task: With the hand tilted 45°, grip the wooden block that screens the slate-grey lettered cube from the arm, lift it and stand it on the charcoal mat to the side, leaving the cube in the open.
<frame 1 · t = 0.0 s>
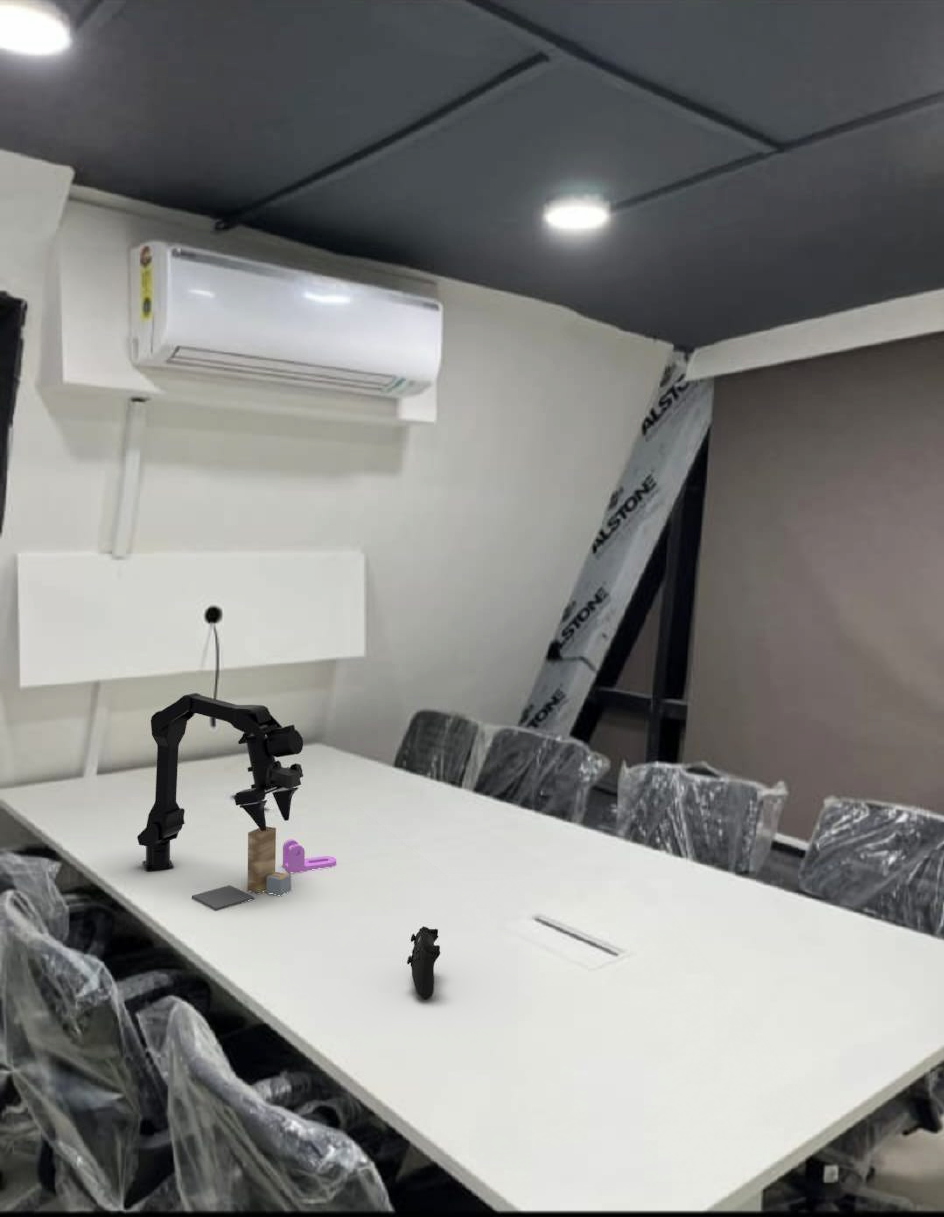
hand: (275, 825, 232), 15 cm above the table, tool pointing down, fingers open, 9 cm apart
wooden block: (261, 888, 234), on the table
charcoal mat: (222, 898, 227), on the table
gaming controller: (422, 985, 188), on the table
bracket: (311, 867, 250), on the table
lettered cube: (278, 892, 232), on the table
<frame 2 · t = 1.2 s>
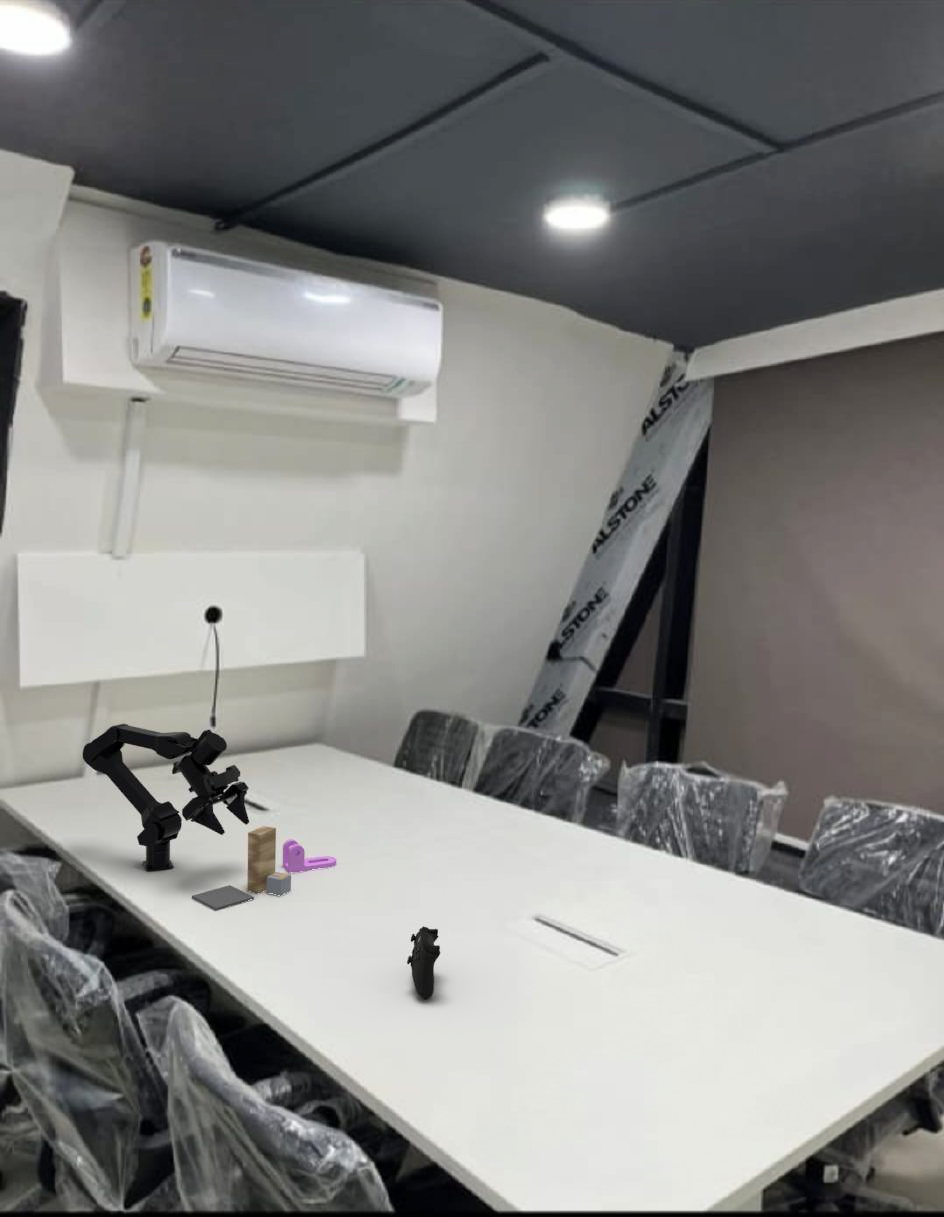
hand: (235, 828, 236), 13 cm above the table, tool tilted 45°, fingers open, 9 cm apart
nothing on the table moved.
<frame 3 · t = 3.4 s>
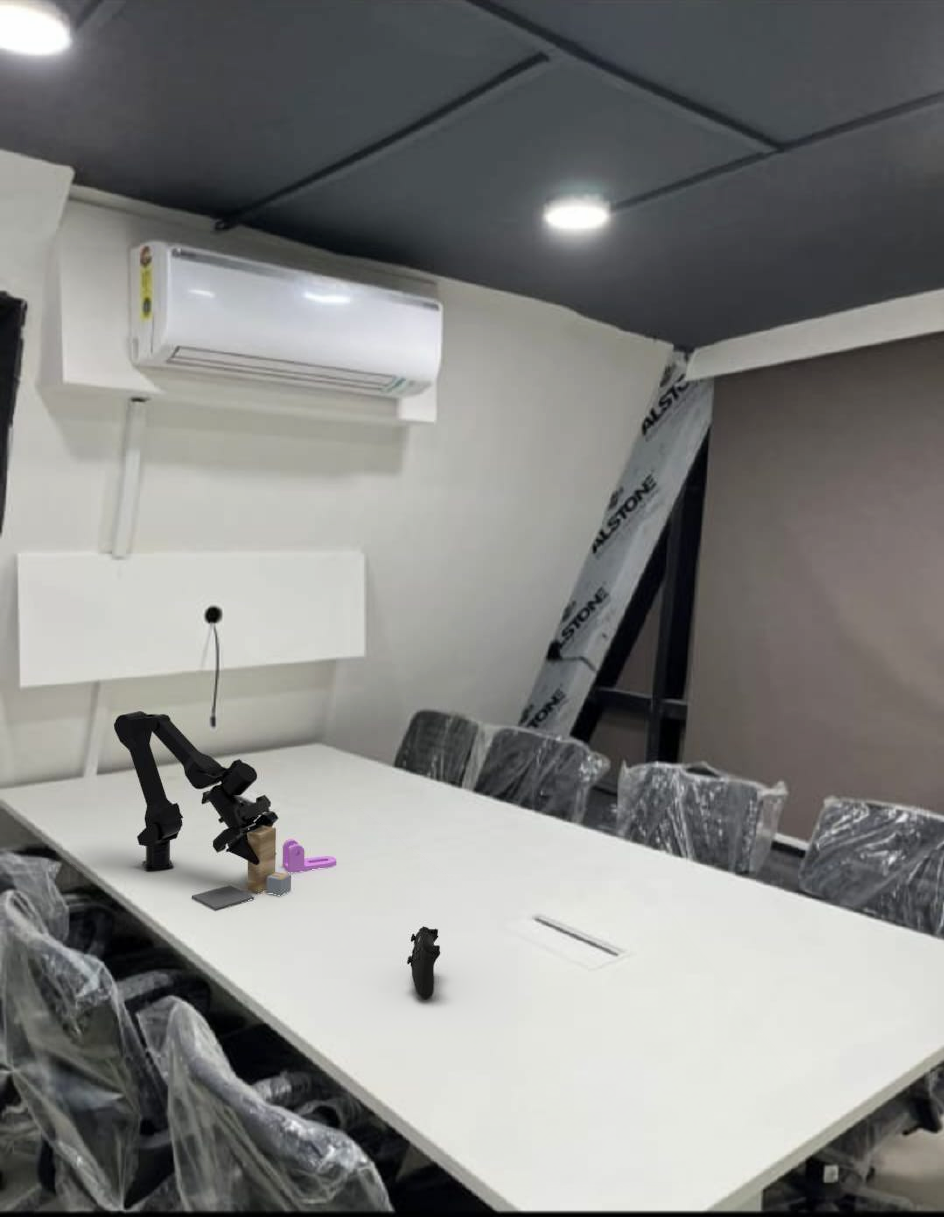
hand: (266, 859, 233), 7 cm above the table, tool tilted 45°, fingers closed on wooden block, 6 cm apart
wooden block: (261, 888, 234), on the table, touching gripper
everything else where it was.
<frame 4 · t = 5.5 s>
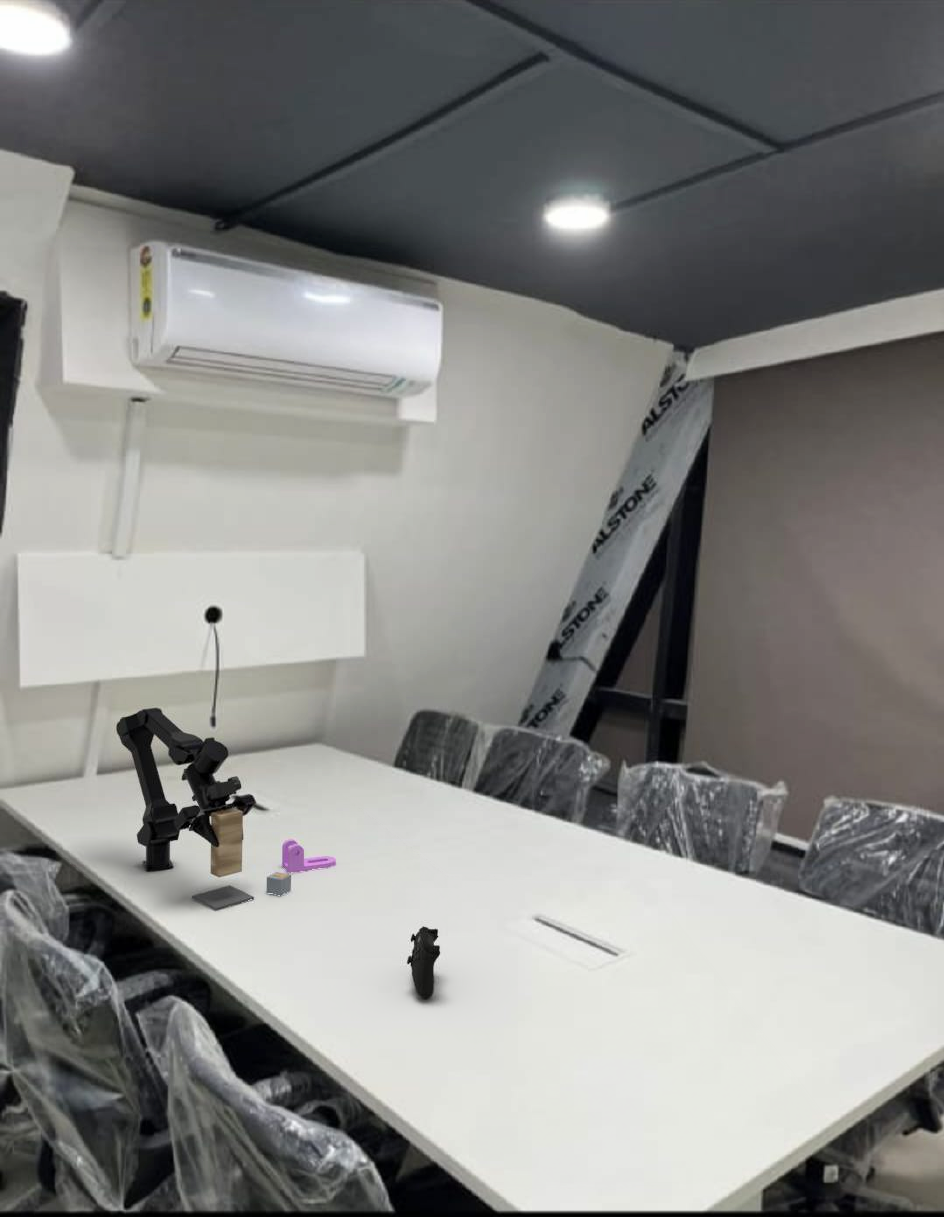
hand: (230, 843, 225), 13 cm above the table, tool tilted 45°, fingers closed on wooden block, 6 cm apart
wooden block: (226, 872, 226), point 6 cm above the table, touching gripper
everything else where it was.
when the fingers open (9 cm above the table, at t = 7.5 s): wooden block stays where it is, resting on charcoal mat.
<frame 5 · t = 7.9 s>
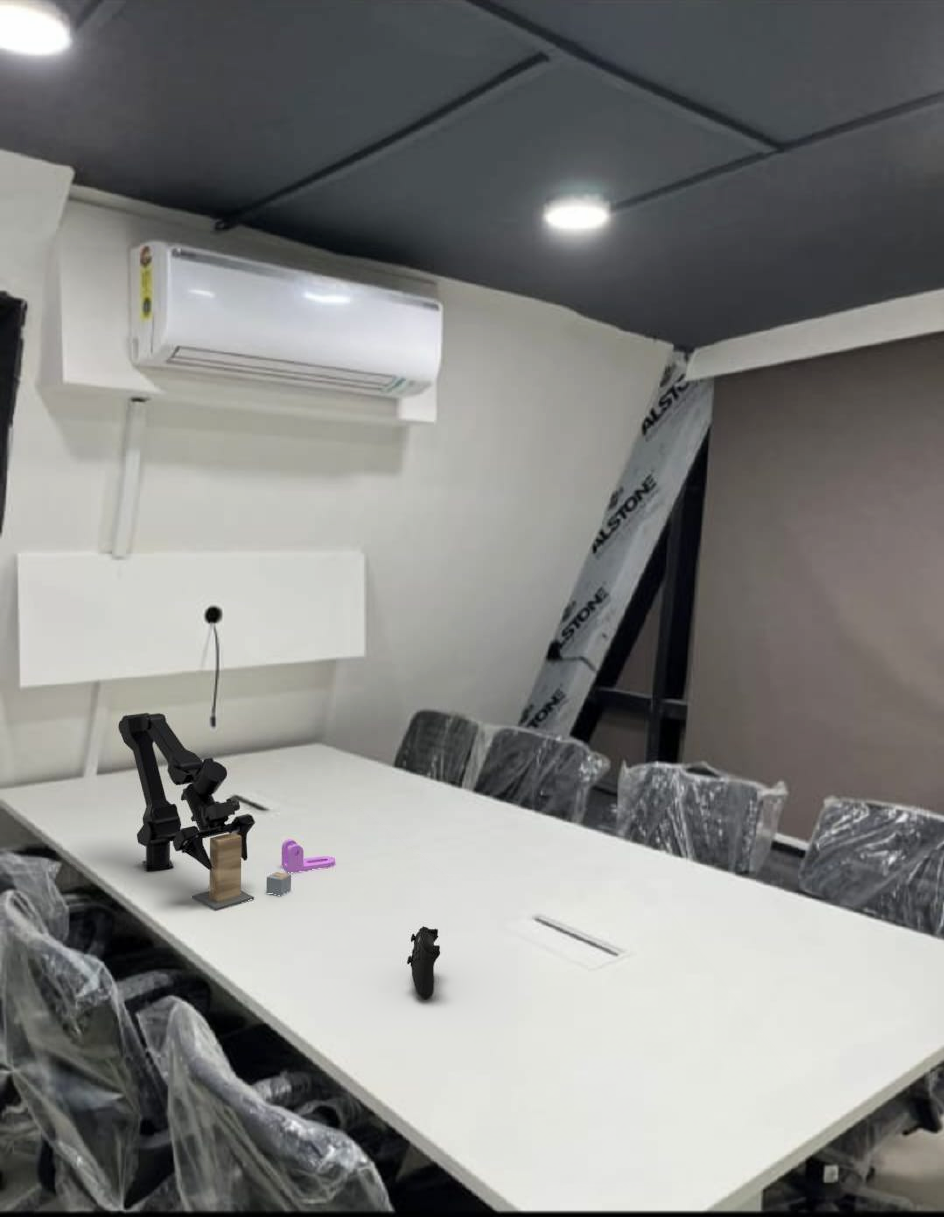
hand: (228, 864, 225), 9 cm above the table, tool tilted 45°, fingers open, 9 cm apart
wooden block: (225, 896, 226), point 1 cm above the table, touching charcoal mat
everything else where it was.
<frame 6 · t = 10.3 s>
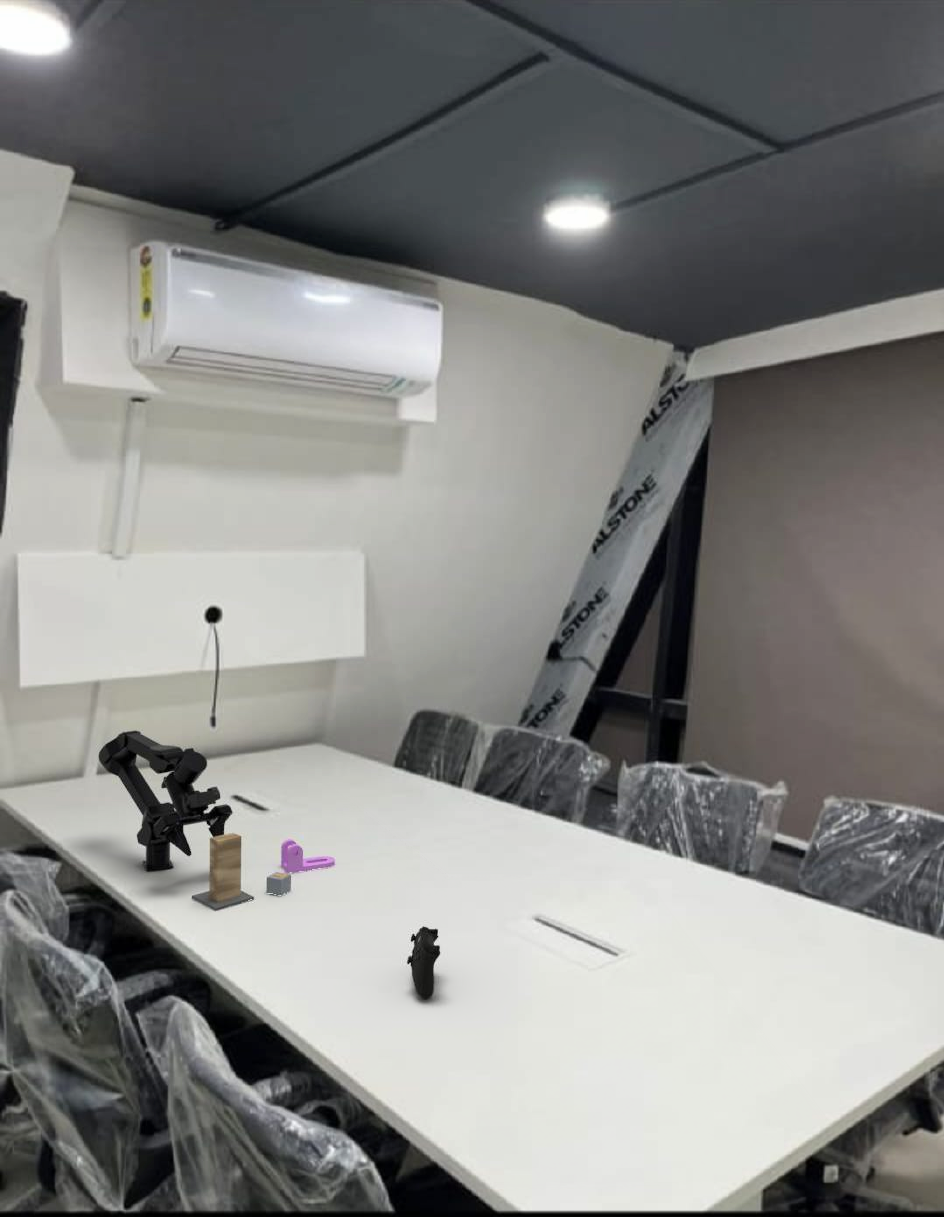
hand: (206, 851, 231), 9 cm above the table, tool tilted 45°, fingers open, 9 cm apart
nothing on the table moved.
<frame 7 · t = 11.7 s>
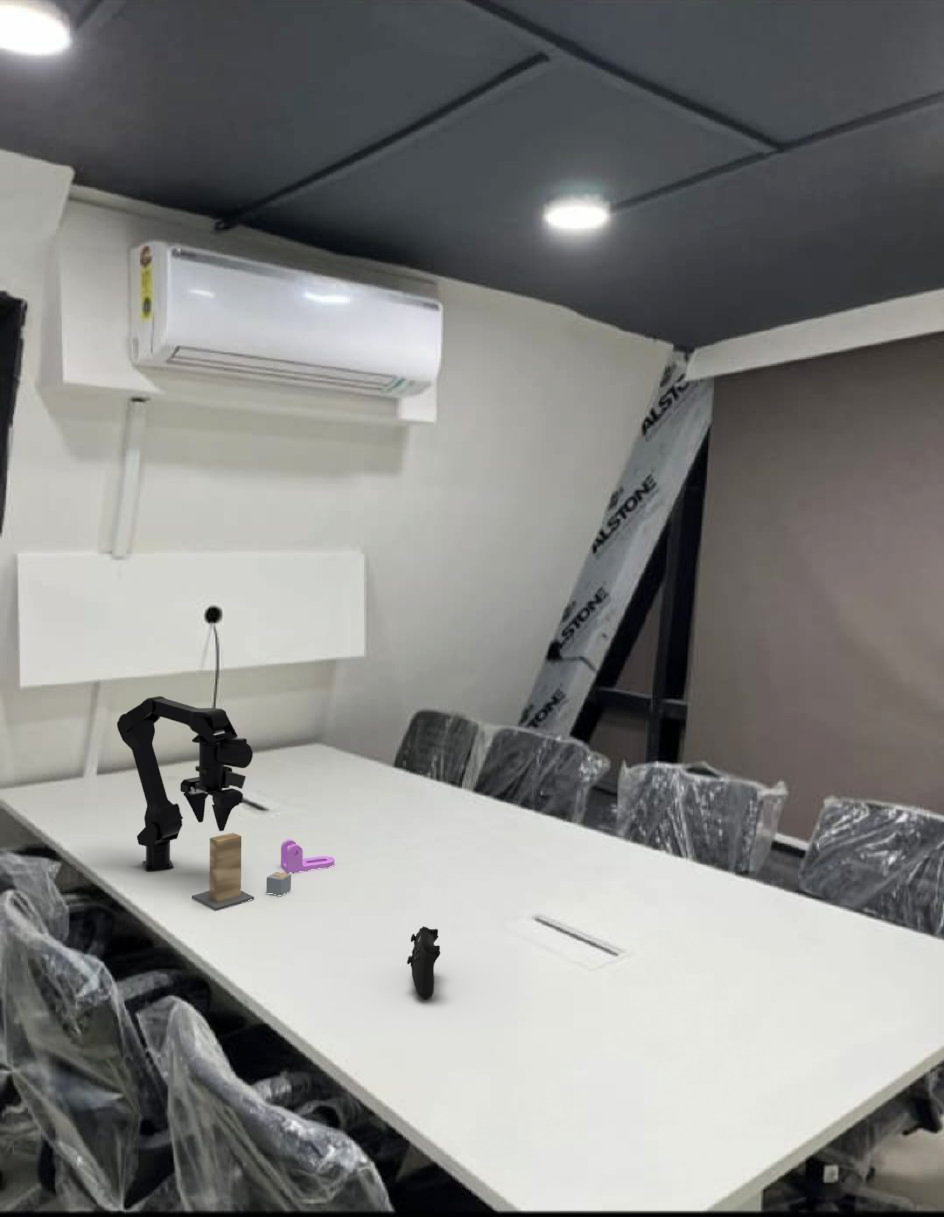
hand: (210, 826, 238), 13 cm above the table, tool pointing down, fingers open, 9 cm apart
nothing on the table moved.
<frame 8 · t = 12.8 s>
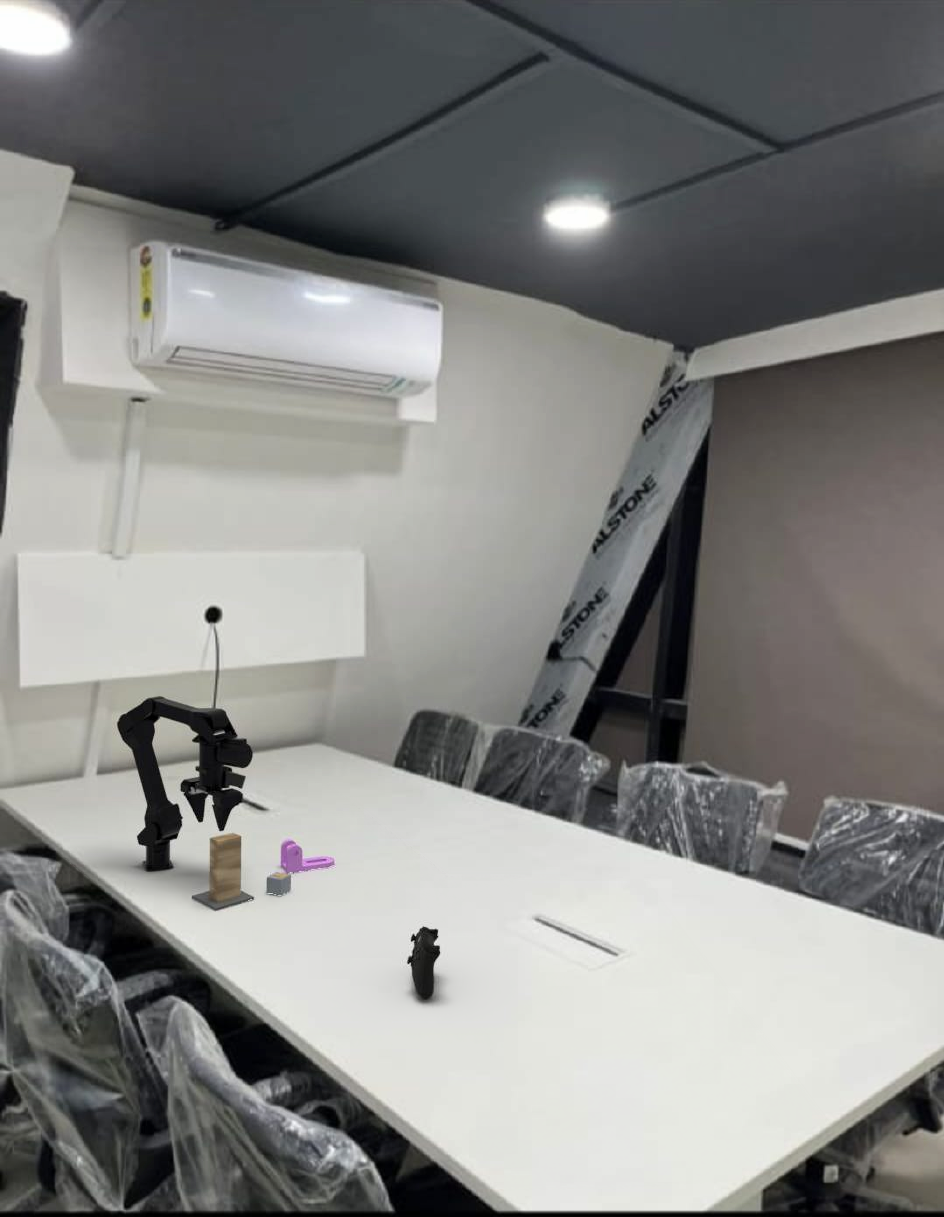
hand: (211, 826, 238), 13 cm above the table, tool pointing down, fingers open, 9 cm apart
nothing on the table moved.
at the end: wooden block inside the target area on the charcoal mat (0.8 cm from its centre), point 0.6 cm above the charcoal mat's base; wooden block tilted 0°; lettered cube moved 0.1 cm from its start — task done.
